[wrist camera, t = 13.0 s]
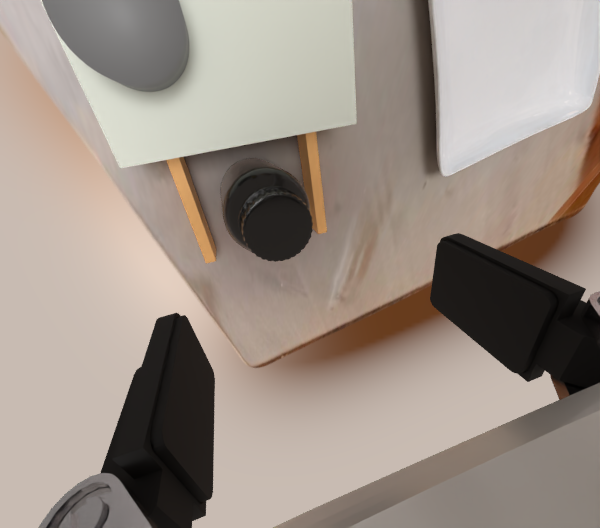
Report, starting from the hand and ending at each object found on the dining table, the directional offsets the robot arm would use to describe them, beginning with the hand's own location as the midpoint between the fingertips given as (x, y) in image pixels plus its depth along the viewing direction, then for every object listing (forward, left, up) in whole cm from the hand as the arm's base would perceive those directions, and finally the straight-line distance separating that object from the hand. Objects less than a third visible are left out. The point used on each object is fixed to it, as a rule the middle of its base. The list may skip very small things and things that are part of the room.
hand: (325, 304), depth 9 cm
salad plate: (-29, -10, -21) cm, 37 cm away
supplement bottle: (0, 0, -21) cm, 21 cm away
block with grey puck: (0, -5, -20) cm, 21 cm away
